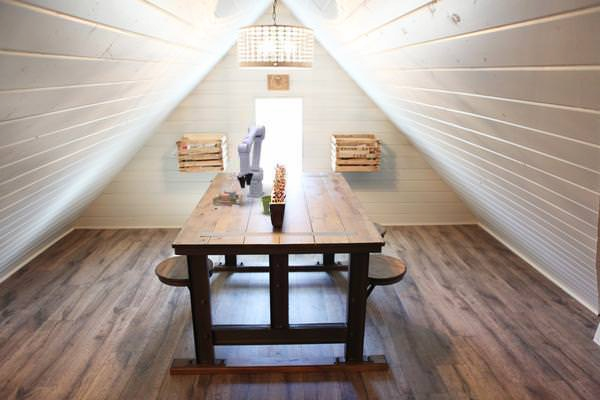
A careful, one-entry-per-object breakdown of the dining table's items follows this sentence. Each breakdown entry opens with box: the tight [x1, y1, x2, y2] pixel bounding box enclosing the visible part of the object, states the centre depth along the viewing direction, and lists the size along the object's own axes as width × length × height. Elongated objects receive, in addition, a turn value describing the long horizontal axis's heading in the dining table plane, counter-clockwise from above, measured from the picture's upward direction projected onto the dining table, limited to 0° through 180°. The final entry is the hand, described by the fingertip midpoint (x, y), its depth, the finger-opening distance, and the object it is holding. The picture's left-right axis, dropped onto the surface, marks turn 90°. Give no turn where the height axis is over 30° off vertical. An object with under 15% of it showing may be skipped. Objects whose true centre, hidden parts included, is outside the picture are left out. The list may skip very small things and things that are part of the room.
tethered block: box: [220, 193, 244, 206], centre depth 267 cm, size 4×13×6 cm, turn 74°
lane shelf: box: [212, 190, 239, 207], centre depth 272 cm, size 16×11×4 cm
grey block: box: [226, 189, 237, 198], centre depth 276 cm, size 4×4×6 cm
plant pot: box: [260, 194, 271, 215], centre depth 251 cm, size 9×9×9 cm
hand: (245, 186), depth 266 cm, fingers open, 7 cm apart
